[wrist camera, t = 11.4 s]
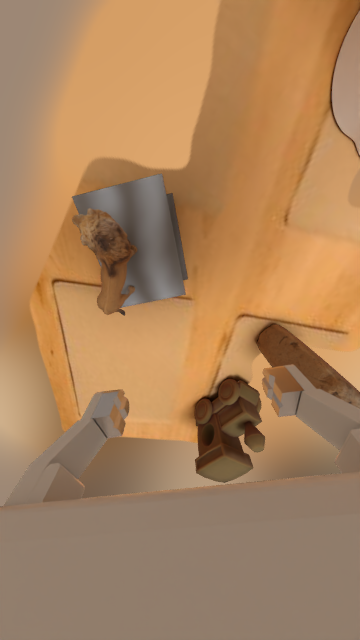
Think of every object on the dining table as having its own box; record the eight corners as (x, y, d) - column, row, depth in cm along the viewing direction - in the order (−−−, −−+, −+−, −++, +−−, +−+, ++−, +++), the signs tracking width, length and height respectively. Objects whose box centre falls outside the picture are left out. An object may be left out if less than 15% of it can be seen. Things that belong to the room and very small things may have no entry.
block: (249, 339, 41) (306, 417, 23) (273, 317, 38) (357, 387, 21) (276, 358, 44) (344, 440, 26) (300, 340, 42) (393, 417, 24)
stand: (171, 187, 27) (169, 171, 20) (188, 282, 34) (191, 293, 27) (91, 207, 28) (64, 198, 21) (124, 295, 35) (112, 309, 28)
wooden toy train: (213, 419, 56) (226, 485, 41) (187, 407, 53) (192, 474, 38) (258, 387, 49) (294, 451, 34) (232, 370, 46) (260, 434, 31)
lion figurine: (98, 214, 22) (53, 201, 14) (137, 218, 22) (116, 207, 14) (110, 313, 29) (85, 342, 21) (141, 314, 29) (128, 344, 21)
